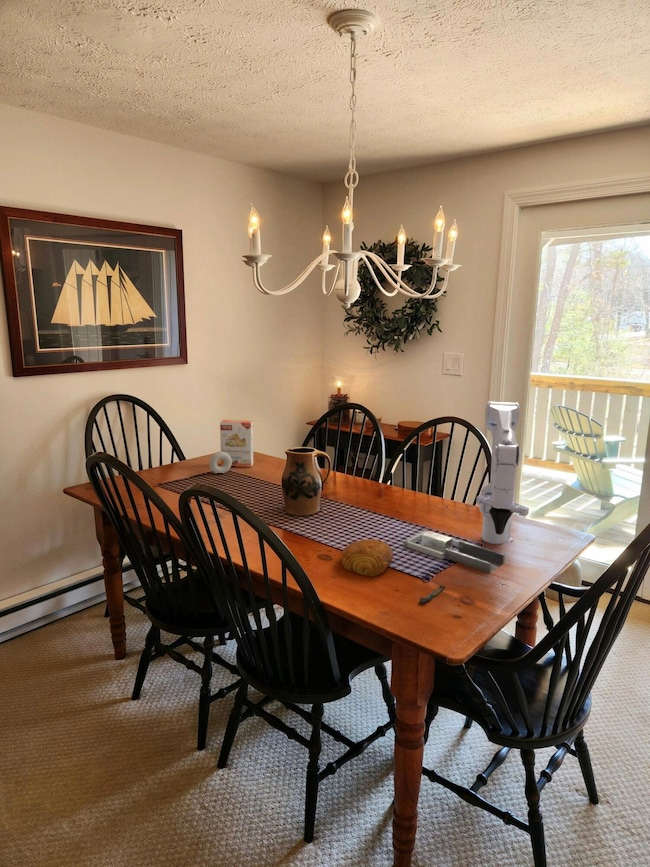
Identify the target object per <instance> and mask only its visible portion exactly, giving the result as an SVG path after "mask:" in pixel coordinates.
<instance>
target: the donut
mask: <svg viewBox="0 0 650 867" xmlns="http://www.w3.org/2000/svg"><path fill="white" fill-rule="evenodd" d="M221 459H223V460H224V464H223V465H222V466H221V465H220V466H219V465H218V462H219V461H221ZM208 465H209V468H210V470H211V471H212V472H213V473H215V474H217V473H223V474H226V473H227V472H228V471H229V470H230V469H231V468H232V467H231V465H232V459H231V457H230V455H229V454H228V453H226V452H221V450H220V451H217V452H215V453H213V455H212V456H210V459H209V463H208ZM225 472H226V473H225Z"/></svg>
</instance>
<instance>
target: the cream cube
mask: <svg viewBox="0 0 650 867" xmlns="http://www.w3.org/2000/svg"><path fill="white" fill-rule="evenodd" d="M453 539H454V538H453V537H450V536H446V535H443V534H440V535H439V536H437V537H435V538H434V543H433V549H434V550H436V551H439V552H442V553H444V554H445V549H446V548H448V549H451V550H453V545H452V541H453Z"/></svg>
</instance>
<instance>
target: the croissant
mask: <svg viewBox="0 0 650 867" xmlns="http://www.w3.org/2000/svg"><path fill="white" fill-rule="evenodd" d="M393 557H394V550H393V548H392V547H391V546H390V544H387V543H386V542H385V541H383V540H381V539H377V538H375V539H374V538H373V539H372V538H370V539H369V538H368V539H367V538H366V539H361V540H357V541H354V542H351V543H349V544H348V545H346V546H345V547H344V548H343V549H342V552H341V564H342V565H343V567H344V569H345V570H346V571H349V572H350V573H356V574H358V575H363V576H366V577H376V576H379V575H380V574H382V573H383V572H385V570H386V569H387V568H388V567H389V566H390V564H391V562H393V559H394V558H393Z"/></svg>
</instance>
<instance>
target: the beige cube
mask: <svg viewBox="0 0 650 867" xmlns="http://www.w3.org/2000/svg"><path fill="white" fill-rule="evenodd" d="M427 531H428V532H426V533H424V534H422V539H421V544H420V545H422V546H425V547H428V548H431V549H433V543H434V538H435V537H437V536H439V535H441V534H439V533H437V532H434V531H430V530H427Z"/></svg>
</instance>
